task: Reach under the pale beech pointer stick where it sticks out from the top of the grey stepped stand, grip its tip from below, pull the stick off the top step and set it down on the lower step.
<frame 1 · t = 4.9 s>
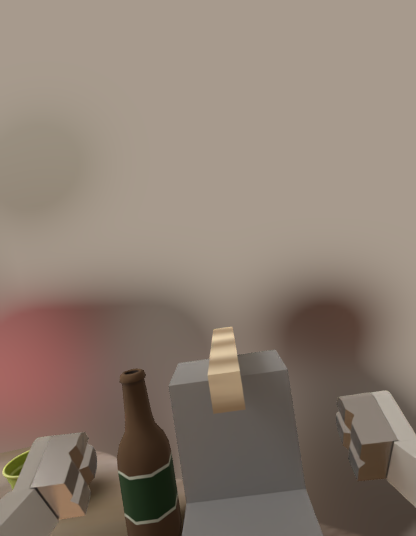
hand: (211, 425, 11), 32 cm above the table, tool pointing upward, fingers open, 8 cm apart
stick: (227, 373, 36), point 26 cm above the table, touching stand
plant pot: (41, 509, 60), on the table
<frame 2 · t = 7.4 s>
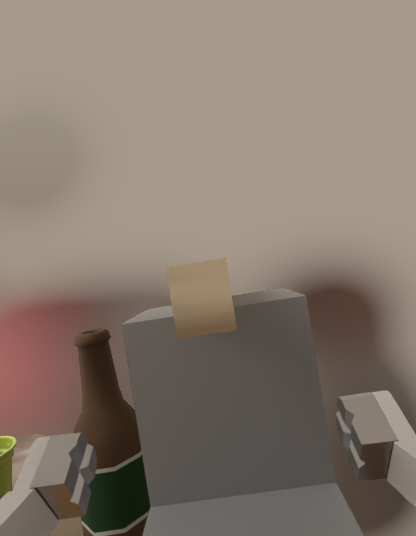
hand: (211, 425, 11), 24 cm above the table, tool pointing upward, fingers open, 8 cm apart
stick: (213, 307, 24), point 26 cm above the table, touching stand
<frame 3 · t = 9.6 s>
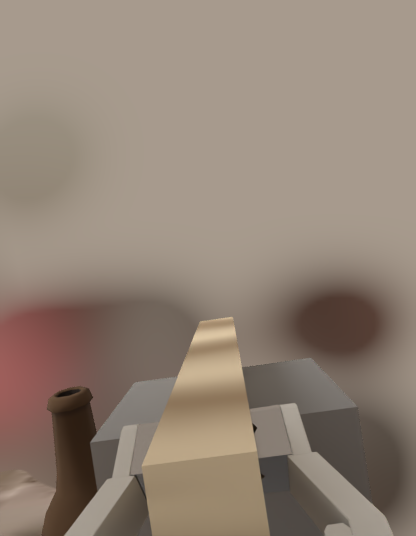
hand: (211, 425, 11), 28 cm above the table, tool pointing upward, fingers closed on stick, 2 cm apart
stick: (221, 410, 17), point 26 cm above the table, touching gripper, stand
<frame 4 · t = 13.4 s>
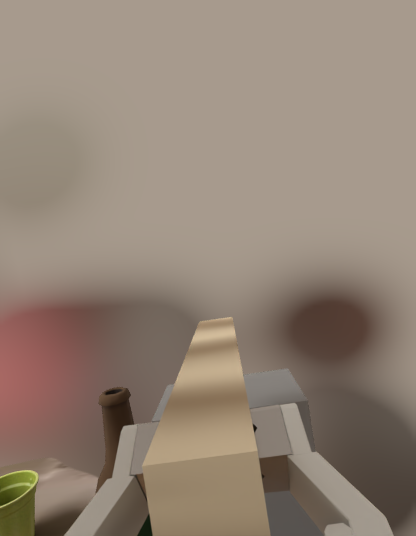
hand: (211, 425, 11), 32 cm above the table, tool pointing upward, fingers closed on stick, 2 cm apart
stick: (221, 410, 17), point 30 cm above the table, touching gripper
when the fingers open (18 cm above the table, at t = 17.5 s): stick drops 3 cm, resting on stand.
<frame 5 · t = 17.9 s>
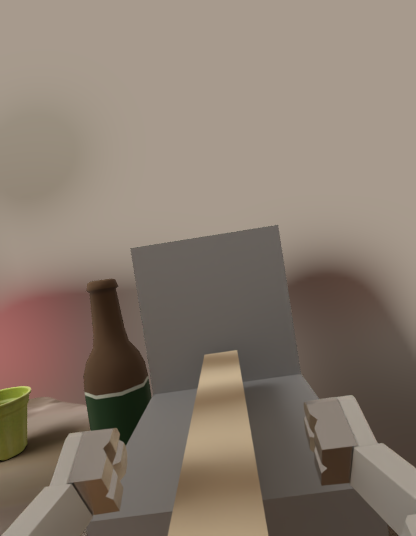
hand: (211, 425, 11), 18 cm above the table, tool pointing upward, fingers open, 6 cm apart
stick: (229, 462, 17), point 14 cm above the table, touching stand
plant pot: (5, 454, 54), on the table
beer bottle: (131, 471, 43), on the table
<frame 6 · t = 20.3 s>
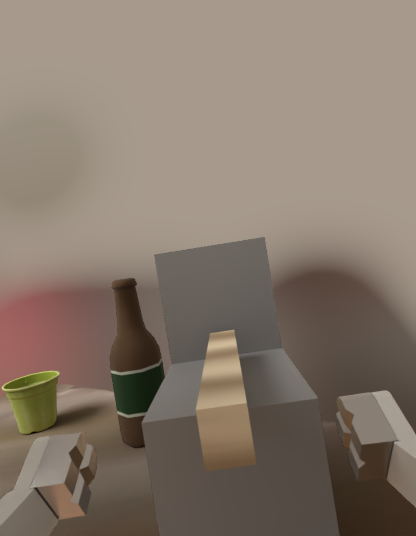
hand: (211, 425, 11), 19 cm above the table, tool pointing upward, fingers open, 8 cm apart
stick: (228, 394, 26), point 14 cm above the table, touching stand
stand: (249, 514, 33), on the table
plant pot: (39, 427, 63), on the table
beer bottle: (148, 436, 53), on the table
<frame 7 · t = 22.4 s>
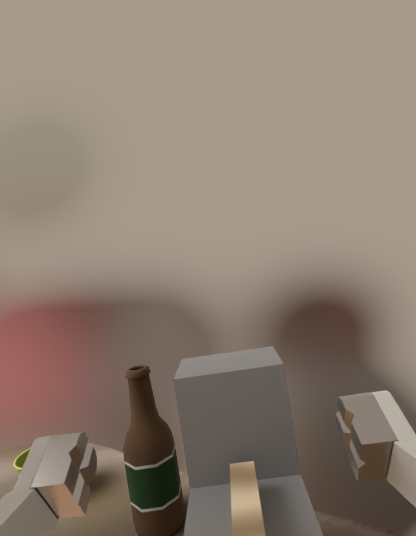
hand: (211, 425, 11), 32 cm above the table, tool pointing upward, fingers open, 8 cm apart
beer bottle: (161, 524, 53), on the table
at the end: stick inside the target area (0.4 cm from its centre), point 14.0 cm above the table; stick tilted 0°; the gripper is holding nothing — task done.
